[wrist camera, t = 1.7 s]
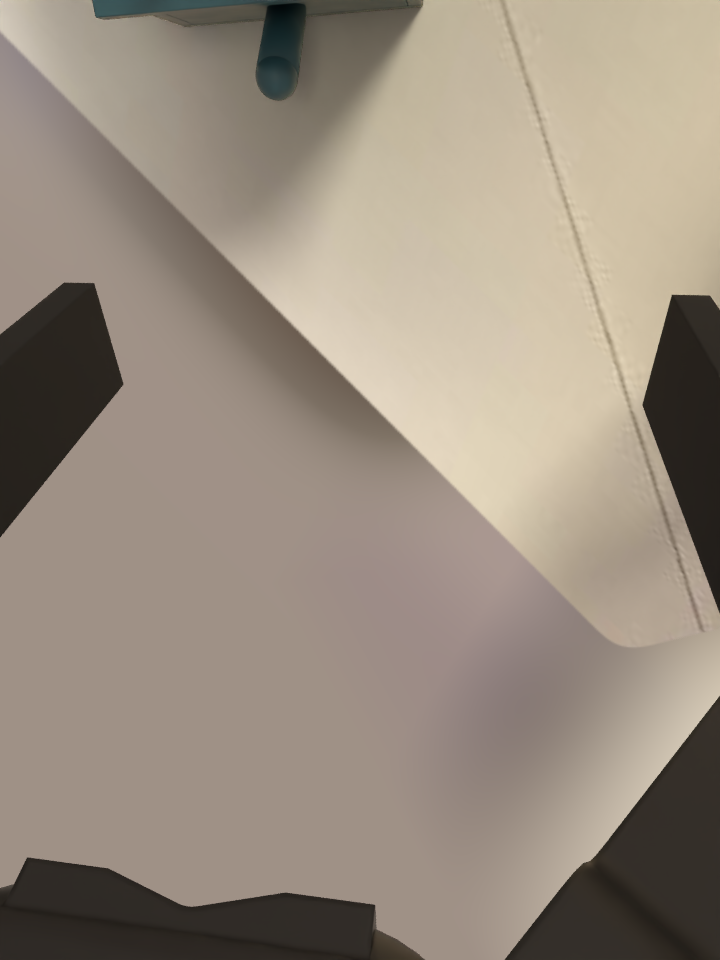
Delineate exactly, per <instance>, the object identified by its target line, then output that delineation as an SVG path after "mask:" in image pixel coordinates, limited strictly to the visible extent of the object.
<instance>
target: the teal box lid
mask: <svg viewBox="0 0 720 960" xmlns="http://www.w3.org/2000/svg"><path fill="white" fill-rule="evenodd" d="M313 1H324V0H92V2H93V7H94V12H95V16H96V18H99V19H103V20H109V19H121V18H132V17H143V16H154V15H166V14H177V13H188V12H200V11H211V10H222V9H234V8H245V7H256V6H267V5H279V4H290V3H301V2H313Z"/></svg>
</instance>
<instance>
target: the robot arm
mask: <svg viewBox="0 0 720 960" xmlns="http://www.w3.org/2000/svg"><path fill="white" fill-rule="evenodd" d="M122 385H123V381H122V378H121V374H120V371H119V367H118V364H117V360H116V357H115V353H114V350H113V347H112V343H111V340H110V336H109V333H108V329H107V326H106V322H105V319H104V316H103V313H102V309H101V305H100V302H99V298H98V295H97V291H96V288H95V285H94V283H63V284H62V285H61V286H59V287H58V288H57V289H56V290H55V291H53V292H52V293H51V294H50V295H48V296H47V297H46V298H45V299H43V300H42V301H41V302H40V303H38V304H37V305H36V306H35V307H34V308H32V309H31V310H30V311H29V312H27V313H26V314H25V315H24V316H23V317H21V318H20V319H19V320H18V321H16V322H15V323H14V324H13V325H11V326H10V327H9V328H8V329H6V330H5V331H4V332H3V333H2V334H0V537H1V536H2V534H3V533H4V532H5V531H6V529H7V528H8V527H9V526H10V524H11V523H12V522H13V521H14V520H15V518H16V517H17V516H18V515H19V513H20V512H21V511H22V510H23V508H24V507H25V506H26V505H27V503H28V502H29V501H30V500H31V498H32V497H33V496H34V495H35V493H36V492H37V491H38V490H39V489H40V487H41V486H42V485H43V484H44V482H45V481H46V480H47V479H48V477H49V476H50V475H51V474H52V472H53V471H54V470H55V469H56V467H57V466H58V465H59V464H60V463H61V461H62V460H63V459H64V458H65V456H66V455H67V454H68V453H69V451H70V450H71V449H72V448H73V446H74V445H75V444H76V443H77V441H78V440H79V439H80V438H81V436H82V435H83V434H84V433H85V431H86V430H87V429H88V428H89V426H90V425H91V424H92V423H93V422H94V420H95V419H96V418H97V417H98V415H99V414H100V413H101V412H102V410H103V409H104V408H105V407H106V405H107V404H108V403H109V402H110V401H111V399H112V398H113V397H114V395H115V394H116V393H117V392H118V391H119V389H120V388H121V387H122ZM643 408H644V411H645V413H646V416H647V419H648V421H649V424H650V427H651V429H652V432H653V435H654V438H655V440H656V443H657V446H658V448H659V451H660V454H661V456H662V459H663V462H664V464H665V467H666V470H667V473H668V475H669V478H670V481H671V483H672V486H673V489H674V491H675V494H676V497H677V499H678V502H679V505H680V508H681V510H682V513H683V516H684V518H685V521H686V524H687V526H688V529H689V532H690V534H691V537H692V540H693V543H694V545H695V548H696V551H697V553H698V556H699V559H700V561H701V564H702V567H703V569H704V572H705V575H706V578H707V580H708V583H709V586H710V588H711V591H712V594H713V596H714V599H715V602H716V604H717V607H718V610H719V613H720V310H719V308H718V307H717V305H716V304H715V302H714V301H713V300H712V298H711V297H710V296H701V295H672V297H671V301H670V304H669V308H668V312H667V316H666V319H665V323H664V327H663V330H662V334H661V338H660V342H659V345H658V349H657V353H656V357H655V360H654V364H653V368H652V371H651V375H650V379H649V383H648V386H647V390H646V394H645V398H644V401H643ZM0 960H424V959H423V958H422V957H421V956H420V955H419V954H418V953H416V952H415V951H413V950H412V949H410V948H409V947H407V946H406V945H404V944H403V943H401V942H400V941H398V940H397V939H395V938H393V937H391V936H389V935H386V934H385V933H383V932H381V931H378V930H377V929H376V912H375V905H372V904H365V903H357V902H350V901H343V900H336V899H328V898H321V897H314V896H306V895H299V894H292V893H280V894H275V895H268V896H261V897H255V898H248V899H242V900H235V901H230V902H223V903H216V904H210V905H203V906H196V907H188V906H183V905H180V904H178V903H176V902H174V901H172V900H170V899H168V898H166V897H164V896H162V895H160V894H158V893H156V892H154V891H152V890H150V889H148V888H146V887H144V886H142V885H140V884H138V883H136V882H134V881H132V880H130V879H128V878H126V877H124V876H122V875H120V874H118V873H116V872H114V871H112V870H110V869H108V868H100V867H93V866H86V865H79V864H71V863H64V862H57V861H49V860H42V859H34V858H27V859H26V861H25V863H24V865H23V867H22V869H21V871H20V873H19V875H18V877H17V879H16V882H15V884H14V885H9V886H6V887H2V888H0ZM505 960H720V696H719V698H718V699H717V700H716V702H715V703H714V704H713V705H712V707H711V708H710V709H709V711H708V712H707V713H706V714H705V716H704V717H703V718H702V720H701V721H700V722H699V723H698V725H697V726H696V727H695V729H694V730H693V731H692V733H691V734H690V735H689V737H688V738H687V739H686V741H685V742H684V743H683V744H682V745H681V747H680V748H679V749H678V751H677V752H676V753H675V755H674V756H673V757H672V758H671V760H670V761H669V762H668V764H667V765H666V766H665V767H664V769H663V770H662V771H661V773H660V774H659V775H658V776H657V778H656V779H655V780H654V782H653V783H652V784H651V785H650V787H649V788H648V789H647V791H646V792H645V793H644V795H643V796H642V797H641V798H640V800H639V801H638V802H637V804H636V805H635V806H634V807H633V809H632V810H631V811H630V813H629V814H628V815H627V817H626V818H625V819H624V820H623V822H622V823H621V824H620V826H619V827H618V828H617V829H616V831H615V832H614V833H613V835H612V836H611V837H610V838H609V840H608V841H607V842H606V844H605V845H604V846H603V848H602V849H601V850H600V851H599V852H598V854H597V855H596V856H595V857H594V858H593V859H592V860H591V861H589V862H586V863H583V864H582V865H581V866H580V867H579V868H578V869H577V870H576V871H575V872H574V873H573V874H572V875H571V877H570V878H569V879H568V880H567V882H566V883H565V884H564V885H563V886H562V887H561V889H560V890H559V891H558V892H557V894H556V895H555V896H554V898H553V899H552V900H551V901H550V903H549V904H548V905H547V906H546V908H545V909H544V910H543V912H542V913H541V914H540V915H539V917H538V918H537V919H536V920H535V922H534V923H533V924H532V926H531V927H530V928H529V929H528V931H527V932H526V933H525V934H524V936H523V937H522V939H521V940H520V941H519V942H518V943H517V945H516V946H515V947H514V948H513V950H512V951H511V952H510V954H509V955H508V956H507V958H506V959H505Z"/></svg>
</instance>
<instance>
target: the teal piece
mask: <svg viewBox="0 0 720 960" xmlns="http://www.w3.org/2000/svg"><path fill="white" fill-rule="evenodd" d="M305 22H306V6H305V5H303V4H299V3H290V4H279V5H269V6H268V7H267V10H266V16H265V21H264V27H263V33H262V38H261V44H260V50H259V56H258V61H257V67H256V81H257V85H258V87H259V89H260V91H261V92H262V93H263V94H264V95H265V96H266V97H268V98H269V99H272V100H276V101H280V100H284V99H286V98H288V97H290V96H291V95H292V93H293V92H294V90H295V89H296V86H297V82H298V74H299V67H300V59H301V52H302V45H303V37H304V30H305Z"/></svg>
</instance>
